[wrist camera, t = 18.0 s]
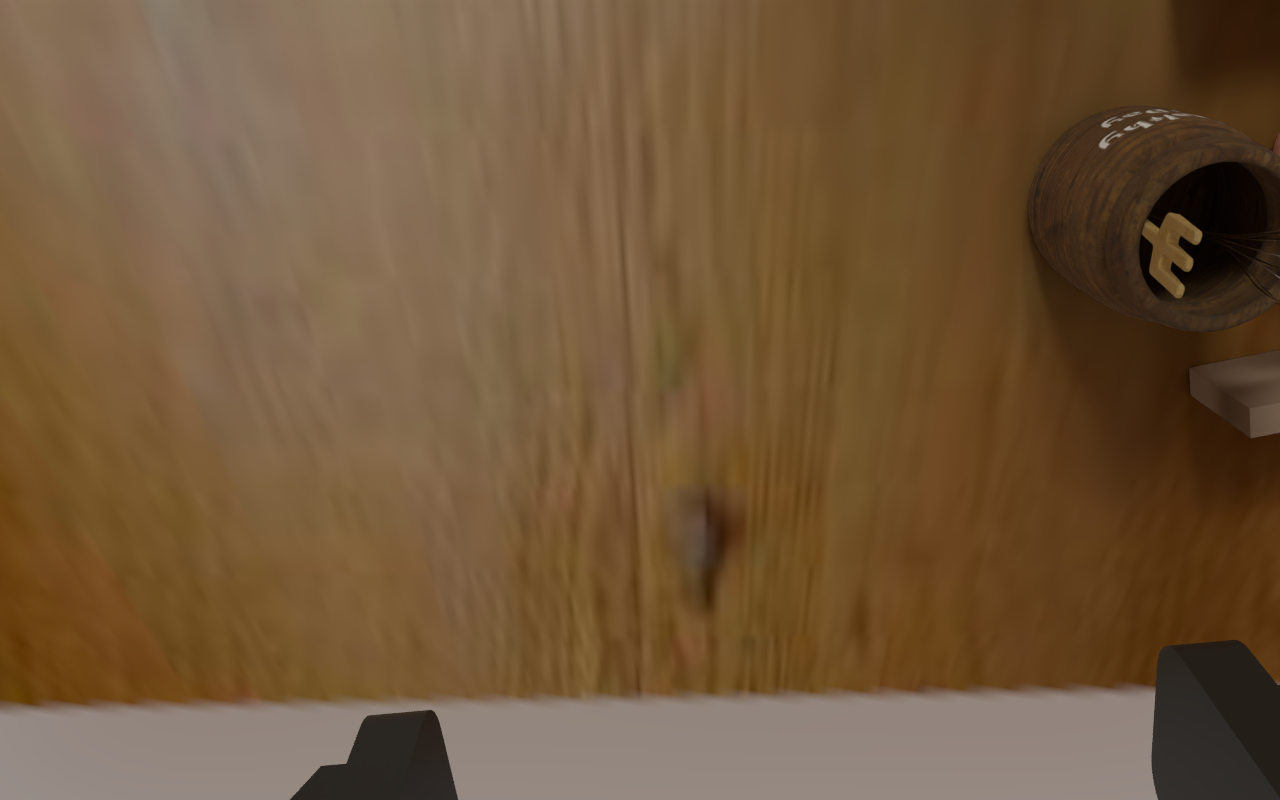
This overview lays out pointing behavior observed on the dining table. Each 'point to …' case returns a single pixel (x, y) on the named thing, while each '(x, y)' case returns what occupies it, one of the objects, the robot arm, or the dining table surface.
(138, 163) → the dining table surface
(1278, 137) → the ball
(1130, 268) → the utensil holder
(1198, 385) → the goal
